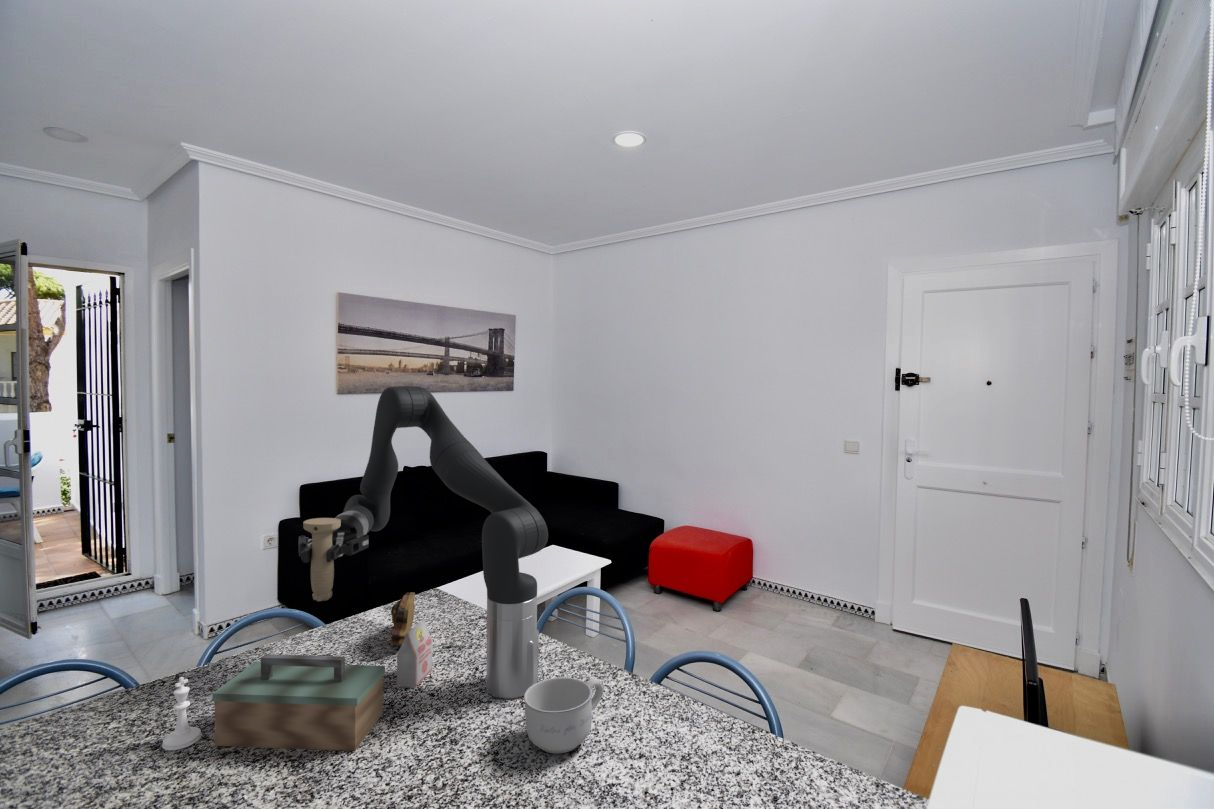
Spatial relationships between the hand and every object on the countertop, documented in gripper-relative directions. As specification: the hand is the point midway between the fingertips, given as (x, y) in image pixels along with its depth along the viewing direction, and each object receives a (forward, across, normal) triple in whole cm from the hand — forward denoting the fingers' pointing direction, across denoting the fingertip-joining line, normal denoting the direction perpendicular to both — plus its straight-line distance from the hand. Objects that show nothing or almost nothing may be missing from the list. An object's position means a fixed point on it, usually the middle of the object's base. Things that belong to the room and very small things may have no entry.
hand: (317, 557), depth 105 cm
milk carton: (0, +18, +24) cm, 30 cm away
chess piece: (+16, -15, +24) cm, 32 cm away
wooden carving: (-16, +12, +24) cm, 32 cm away
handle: (-3, 0, +9) cm, 10 cm away
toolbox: (+11, +4, +24) cm, 26 cm away
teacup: (+22, +45, +23) cm, 55 cm away
